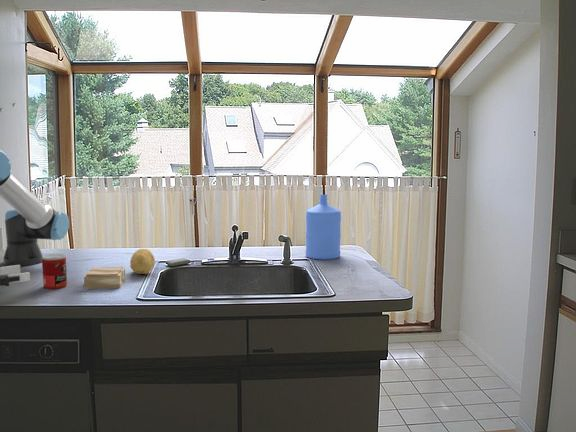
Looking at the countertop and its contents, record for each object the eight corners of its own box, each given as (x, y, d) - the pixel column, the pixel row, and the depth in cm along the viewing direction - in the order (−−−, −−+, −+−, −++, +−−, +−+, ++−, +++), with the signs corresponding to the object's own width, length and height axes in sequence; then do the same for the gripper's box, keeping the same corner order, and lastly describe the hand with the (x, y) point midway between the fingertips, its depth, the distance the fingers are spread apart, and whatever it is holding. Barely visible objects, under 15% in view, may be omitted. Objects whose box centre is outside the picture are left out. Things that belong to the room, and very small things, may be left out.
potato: (160, 269, 221) (159, 246, 220) (147, 278, 207) (147, 253, 205) (136, 268, 222) (135, 245, 221) (122, 277, 208) (121, 253, 206)
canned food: (59, 289, 190) (57, 258, 189) (38, 288, 192) (36, 257, 190) (71, 284, 198) (70, 254, 196) (52, 283, 199) (50, 253, 198)
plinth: (91, 280, 203) (91, 267, 202) (125, 279, 205) (124, 266, 204) (84, 289, 191) (83, 275, 191) (120, 287, 193) (119, 274, 192)
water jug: (339, 260, 239) (340, 197, 235) (303, 259, 241) (303, 196, 237) (341, 253, 254) (342, 193, 250) (307, 252, 256) (308, 192, 253)
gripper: (-52, 285, 185) (17, 275, 198) (-41, 302, 166) (34, 290, 179) (-53, 263, 184) (15, 255, 197) (-43, 278, 165) (33, 268, 178)
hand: (24, 272), depth 188 cm, fingers open, 13 cm apart
